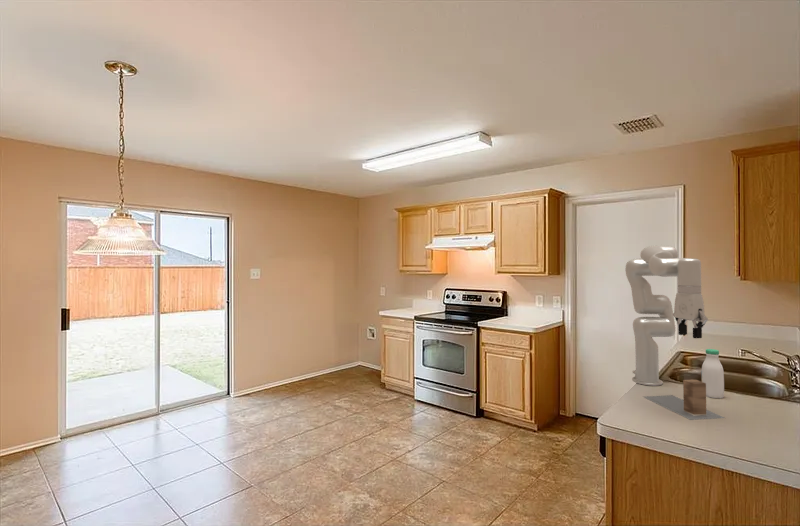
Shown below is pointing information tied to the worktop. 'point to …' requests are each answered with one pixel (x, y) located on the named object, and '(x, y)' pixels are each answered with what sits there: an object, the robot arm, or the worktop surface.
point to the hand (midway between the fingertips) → (689, 336)
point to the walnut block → (694, 397)
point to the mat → (679, 407)
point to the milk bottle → (713, 374)
